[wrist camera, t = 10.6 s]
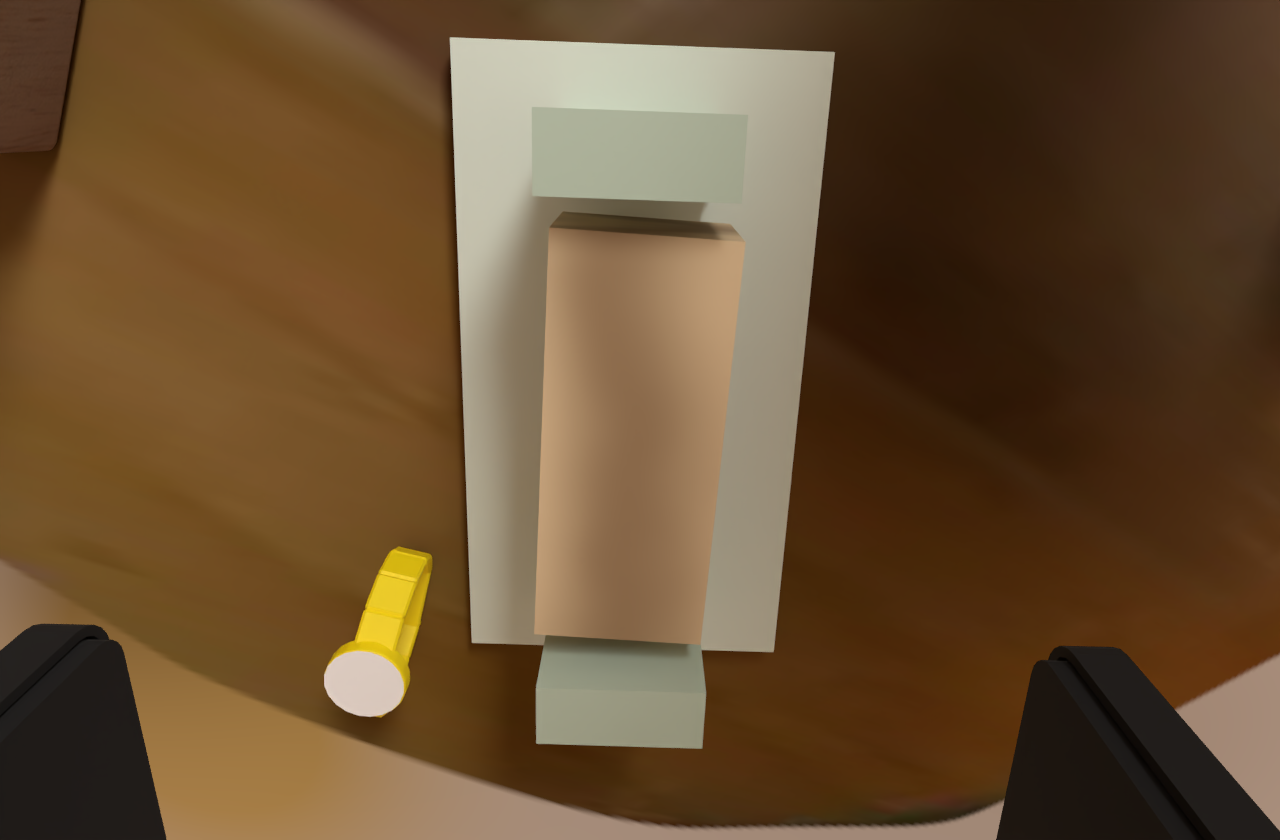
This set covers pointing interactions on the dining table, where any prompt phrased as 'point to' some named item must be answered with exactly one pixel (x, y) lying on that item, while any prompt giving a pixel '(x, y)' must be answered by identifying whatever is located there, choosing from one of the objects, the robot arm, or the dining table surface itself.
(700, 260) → the tan wooden bar
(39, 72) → the wooden block
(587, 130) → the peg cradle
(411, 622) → the watch
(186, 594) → the dining table surface
